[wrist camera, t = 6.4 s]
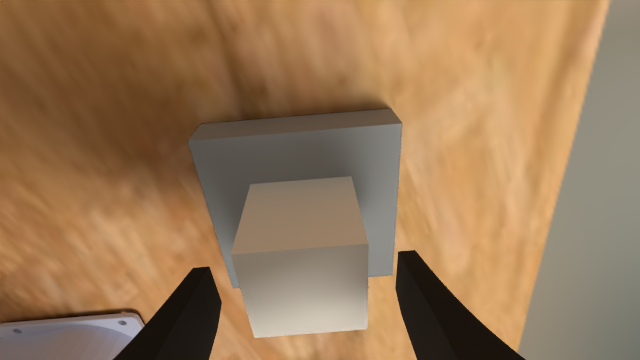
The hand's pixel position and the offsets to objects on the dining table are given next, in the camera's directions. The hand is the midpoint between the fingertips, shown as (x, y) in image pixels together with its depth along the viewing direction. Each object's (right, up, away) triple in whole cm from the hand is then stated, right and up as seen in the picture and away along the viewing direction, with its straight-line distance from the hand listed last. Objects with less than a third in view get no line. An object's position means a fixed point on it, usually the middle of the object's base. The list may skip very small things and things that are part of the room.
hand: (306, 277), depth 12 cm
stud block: (0, +3, +5) cm, 6 cm away
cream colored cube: (0, +2, +3) cm, 4 cm away
